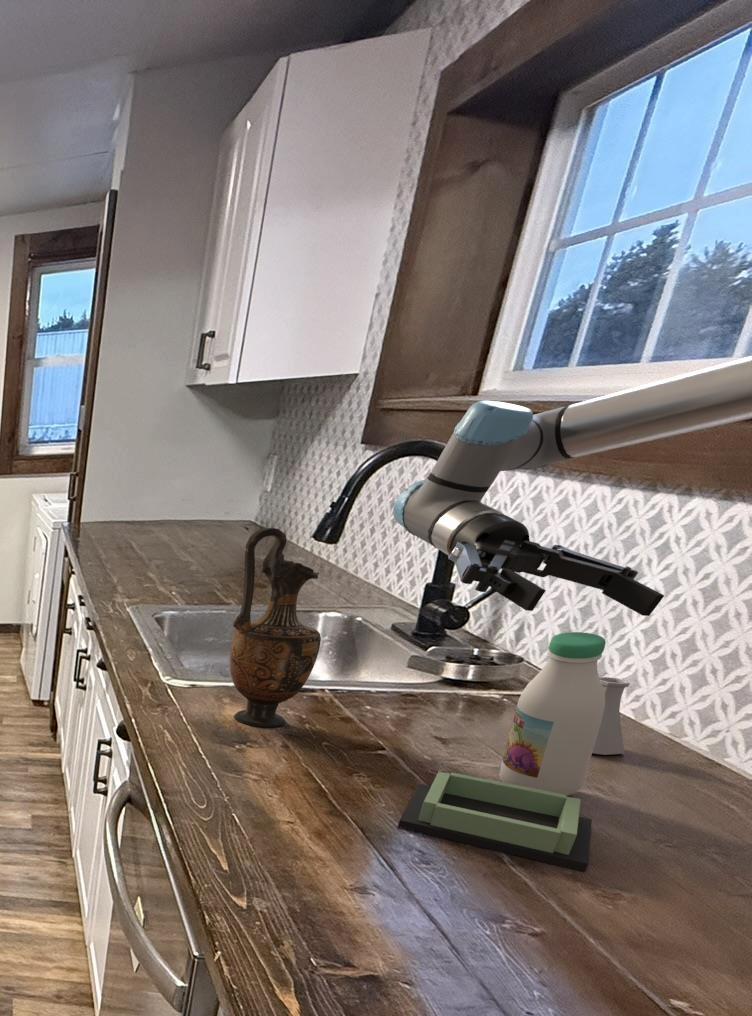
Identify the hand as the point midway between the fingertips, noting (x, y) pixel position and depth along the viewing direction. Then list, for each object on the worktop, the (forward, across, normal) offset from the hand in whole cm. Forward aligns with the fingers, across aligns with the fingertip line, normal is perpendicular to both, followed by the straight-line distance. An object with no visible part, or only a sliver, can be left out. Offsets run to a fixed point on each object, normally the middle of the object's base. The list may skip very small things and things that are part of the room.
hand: (594, 603), depth 100 cm
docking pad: (+20, +13, -20) cm, 31 cm away
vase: (-18, +21, -30) cm, 41 cm away
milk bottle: (+9, 0, -21) cm, 23 cm away
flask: (-5, -17, -24) cm, 30 cm away
